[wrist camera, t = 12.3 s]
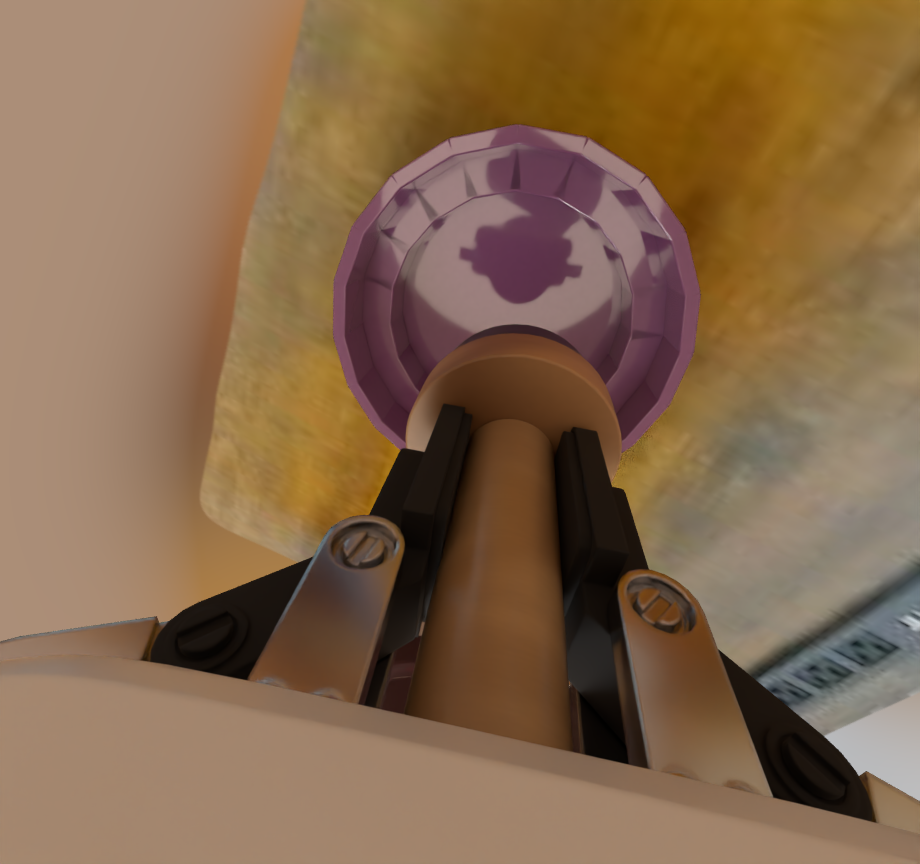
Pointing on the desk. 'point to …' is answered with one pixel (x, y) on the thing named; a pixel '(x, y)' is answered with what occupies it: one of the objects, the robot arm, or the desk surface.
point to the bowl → (516, 270)
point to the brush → (505, 534)
